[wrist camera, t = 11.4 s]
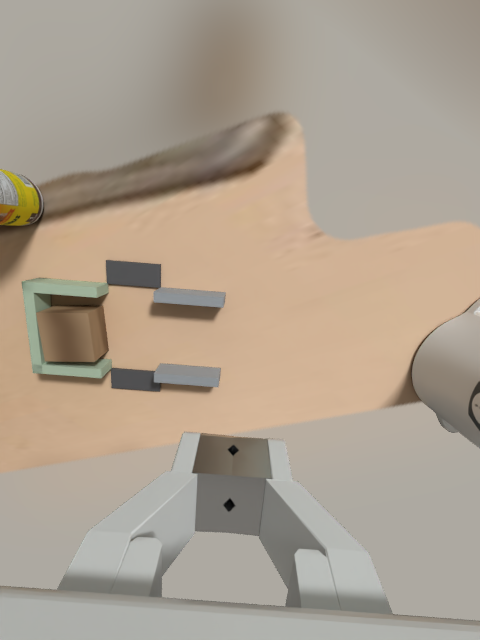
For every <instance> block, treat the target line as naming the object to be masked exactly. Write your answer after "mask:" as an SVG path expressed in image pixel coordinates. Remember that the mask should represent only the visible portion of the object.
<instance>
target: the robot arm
mask: <svg viewBox="0 0 480 640" xmlns="http://www.w3.org/2000/svg"><path fill="white" fill-rule="evenodd" d="M412 382H413V386H414V389H415V391H416V393H417V395H418V397H419V398H420V399H421V401H422V402H423V403H424V404H426V405H427V406H428V407H429V408H431V409H432V410H433V411H434V412H435V413H436V415H437V418H438V420H439V422H440V424H441V425H442V426H443V427H444V428H445V429H446V430H448V431H449V432H452V433H455V432H459V433H460V434H462V435H463V436H464V437H466V438H467V439H468V440H470V441H471V442H472V443H474V444H475V445H476V446H477V447H479V448H480V299H479V300H478V301H476V302H475V303H474V304H473V305H472V306H471V307H470V308H469V309H468V310H467V311H466V312H465V313H463V314H462V315H460V316H458V317H456V318H454V319H452V320H449V321H448V322H446V323H444V324H443V325H441V326H440V327H438V328H437V329H436V330H434V331H433V332H432V333H431V334H430V335H429V336H428V337H427V338H426V340H425V341H424V342H423V344H422V345H421V347H420V348H419V350H418V352H417V354H416V356H415V359H414V362H413V367H412ZM195 531H202V532H226V533H236V534H245V535H255V536H259V539H260V540H261V542H262V544H263V546H264V547H265V549H266V551H267V553H268V555H269V556H270V558H271V560H272V562H273V563H274V565H275V567H276V568H277V571H278V572H279V574H280V576H281V578H282V579H283V581H284V583H285V585H286V586H287V588H288V594H287V600H286V606H285V607H284V606H271V605H257V604H243V603H230V602H216V601H203V600H189V599H176V598H162V594H161V593H162V576H163V574H164V573H165V572H166V570H167V569H168V568H169V566H170V565H171V564H172V562H173V561H174V560H175V559H176V557H177V556H178V555H179V553H180V552H181V551H182V549H183V548H184V547H185V545H186V544H187V543H188V542H189V540H190V539H191V538H192V536H193V535H194V533H195ZM0 640H480V621H476V620H462V619H449V618H448V619H447V618H435V617H422V616H408V615H394V614H392V611H391V608H390V606H389V603H388V601H387V598H386V595H385V593H384V590H383V588H382V585H381V583H380V580H379V578H378V575H377V572H376V570H375V567H374V565H373V562H372V560H371V557H370V554H369V553H368V551H367V550H366V549H365V548H364V547H363V546H362V545H361V544H360V543H359V542H358V541H357V540H356V539H355V538H354V537H353V536H352V535H351V534H350V533H349V532H348V531H347V530H346V529H345V528H344V527H343V526H342V525H341V524H340V523H339V522H338V521H337V520H336V519H335V518H334V517H333V516H332V515H331V514H330V513H329V512H328V511H327V510H326V509H325V508H324V507H323V506H322V505H321V504H320V503H319V502H318V501H317V500H316V499H315V498H314V497H313V496H312V495H311V494H310V493H309V492H308V491H307V490H306V489H305V488H304V487H303V486H302V485H301V484H300V483H299V482H298V481H293V478H292V474H291V468H290V463H289V459H288V453H287V448H286V443H285V440H284V439H273V438H267V439H262V438H248V437H234V436H227V435H217V434H207V433H196V432H184V433H183V434H182V437H181V440H180V443H179V447H178V450H177V453H176V456H175V459H174V463H173V466H172V469H171V472H168V471H165V472H164V473H163V474H161V475H160V476H159V477H157V478H156V479H155V480H153V481H152V482H151V483H150V484H148V485H147V486H146V487H144V488H143V489H142V490H141V491H140V492H138V493H137V494H135V495H134V496H133V497H131V498H130V499H129V500H128V501H126V502H125V503H124V504H122V505H121V506H120V507H119V508H117V509H116V510H115V511H113V512H112V513H111V514H110V515H108V516H107V517H106V518H104V519H103V520H102V521H100V522H99V523H98V524H96V525H95V526H94V527H93V528H91V529H90V530H89V531H88V533H87V534H86V536H85V538H84V540H83V542H82V543H81V545H80V547H79V549H78V551H77V553H76V555H75V557H74V559H73V560H72V562H71V564H70V566H69V568H68V570H67V572H66V574H65V575H64V577H63V579H62V581H61V583H60V585H59V587H58V588H57V590H52V589H39V588H25V587H11V586H0Z"/></svg>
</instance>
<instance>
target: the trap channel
mask: <svg viewBox="0 0 480 640" xmlns="http://www.w3.org/2000/svg"><path fill="white" fill-rule="evenodd" d="M106 272H107V283H99V282H86V281H73V280H61V279H48V278H36V279H31V280H26V281H22V289H23V297H24V305H25V313H26V321H27V329H28V337H29V345H30V353H31V361H32V369H33V373H40V374H53V375H66V376H79V377H92V378H102V377H103V376H104V375H105V374H106V373H107V372H108V371H109V370H110V369H111V383H112V388H120V389H134V390H147V391H160V383H169V384H182V385H195V386H208V387H218V386H219V380H220V371H221V368H213V367H200V366H187V365H174V364H161V363H160V365H159V366H158V368H157V370H156V371H145V370H132V369H119V368H112V360H110V359H98V360H96V361H95V362H55V361H45V359H44V354H43V348H42V343H41V338H40V332H39V327H38V322H37V316H36V313H37V312H39V311H42V310H45V309H47V308H50V307H52V306H51V296H50V294H56V295H69V296H81V297H94V298H98V297H100V296H102V295H105V294H107V293H109V292H108V284H118V285H131V286H144V287H156V288H159V289H157V290H156V291H154V302H158V303H171V304H183V305H196V306H209V307H222V308H223V307H224V303H225V293H226V292H213V291H201V290H188V289H175V288H162V287H161V264H149V263H136V262H124V261H111V260H106Z"/></svg>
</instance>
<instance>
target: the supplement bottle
mask: <svg viewBox="0 0 480 640" xmlns="http://www.w3.org/2000/svg"><path fill="white" fill-rule="evenodd" d="M42 211H43V198H42V195H41V192H40V190H39V189H38V187H37V186H36V185H35V184H34V183H33V182H32V181H31V180H30V179H28V178H27V177H25V176H23V175H20V174H17V173H13V172H9V171H6V170H2V169H0V225H15V226H24V225H29V224H32V223H34V222H35V221H37V220H38V219H39V217H40V216H41V214H42Z"/></svg>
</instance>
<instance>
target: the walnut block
mask: <svg viewBox="0 0 480 640" xmlns="http://www.w3.org/2000/svg"><path fill="white" fill-rule="evenodd" d="M36 316H37V322H38V327H39V332H40V338H41V343H42V348H43V354H44V359H45V361H55V362H95V361H96V360H98V359H99V358H100V357H101V356H102V355H103V354H105V353H106V352H107V351H108V350H109V349H108V341H107V332H106V324H105V316H104V308H103V306H94V305H55V306H53V307H50V308H47V309H45V310H42V311H39V312H37V313H36Z"/></svg>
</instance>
